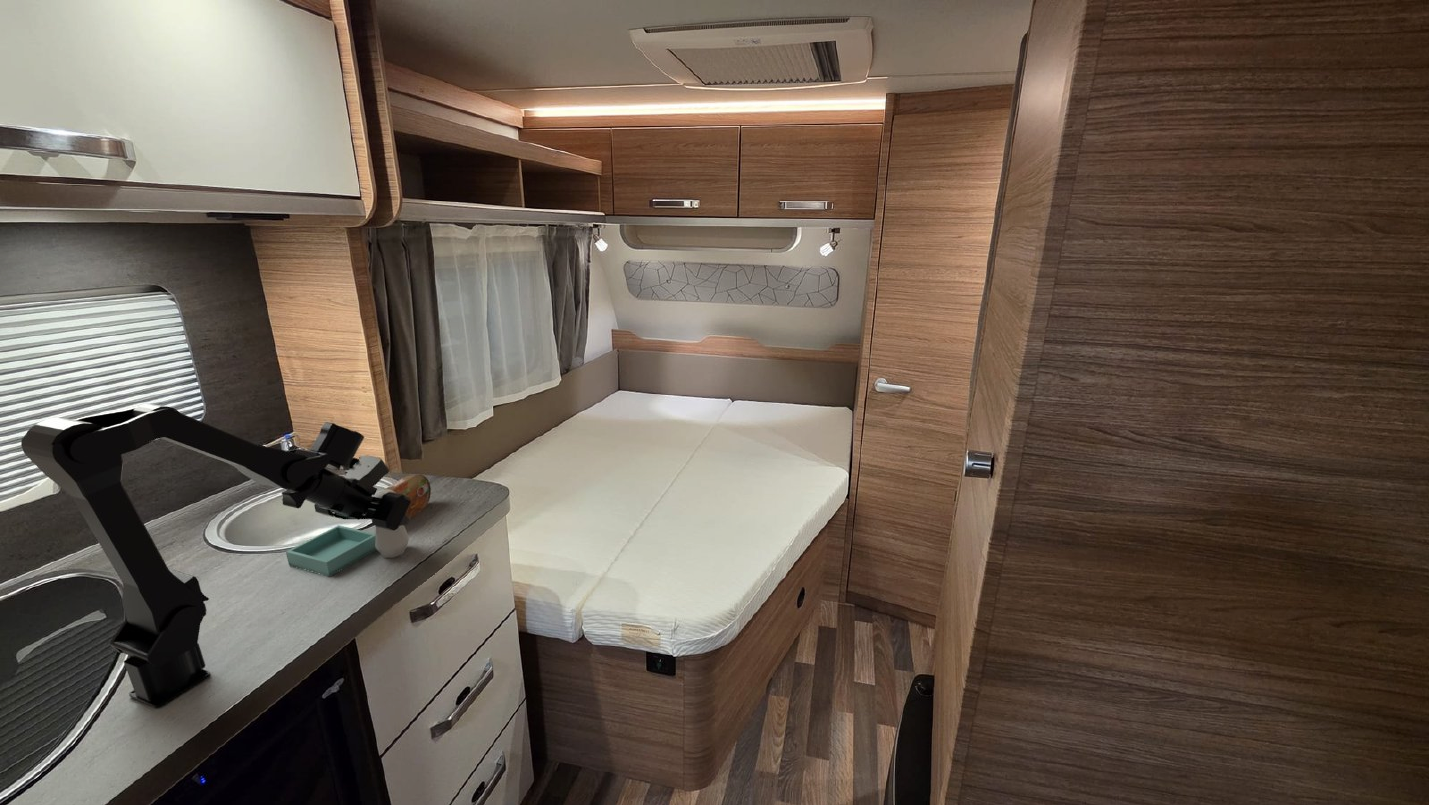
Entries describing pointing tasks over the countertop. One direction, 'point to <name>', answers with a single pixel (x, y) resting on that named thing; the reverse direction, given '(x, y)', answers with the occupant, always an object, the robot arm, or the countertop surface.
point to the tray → (332, 550)
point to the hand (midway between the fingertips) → (394, 519)
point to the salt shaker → (390, 536)
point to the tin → (413, 492)
